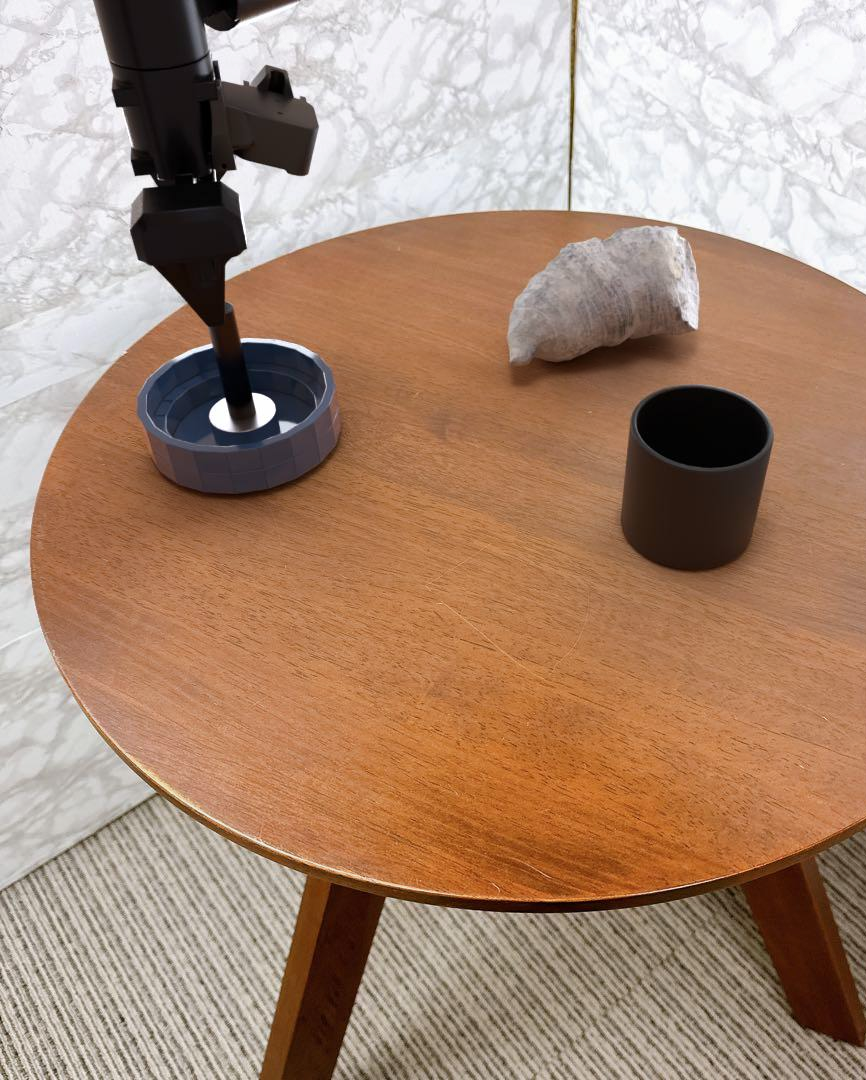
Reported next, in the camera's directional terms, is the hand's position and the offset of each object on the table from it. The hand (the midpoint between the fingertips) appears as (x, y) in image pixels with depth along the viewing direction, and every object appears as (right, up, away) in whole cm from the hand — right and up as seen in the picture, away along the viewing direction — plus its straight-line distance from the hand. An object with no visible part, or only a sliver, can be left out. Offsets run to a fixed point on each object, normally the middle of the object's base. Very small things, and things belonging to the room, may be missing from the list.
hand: (214, 290), depth 71 cm
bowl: (0, -9, +9) cm, 13 cm away
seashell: (+28, 0, +19) cm, 34 cm away
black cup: (+34, -16, +3) cm, 38 cm away
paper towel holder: (0, -9, +9) cm, 12 cm away
